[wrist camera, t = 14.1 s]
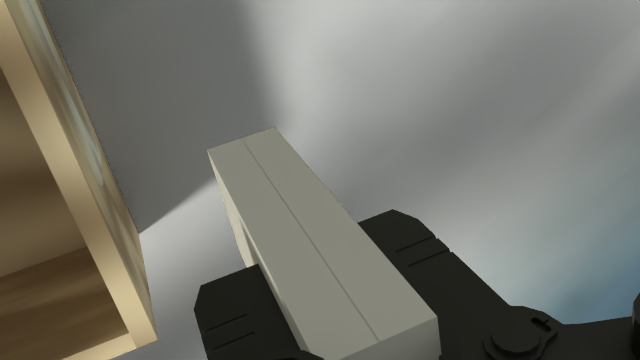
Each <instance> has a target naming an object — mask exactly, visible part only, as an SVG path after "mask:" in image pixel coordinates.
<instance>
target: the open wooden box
mask: <svg viewBox="0 0 640 360" xmlns="http://www.w3.org/2000/svg"><path fill="white" fill-rule="evenodd" d="M156 340H158V337H157V332H156V326H155V321H154V315H153V310H152V304H151V299H150V294H149V288H148V283H147V277H146V272H145V266H144V261H143V255H142V250H141V244H140V239H139V234H138V232H137V230H136V227H135V225H134V223H133V220H132V218H131V215H130V213H129V211H128V208H127V206H126V204H125V201H124V199H123V197H122V194H121V192H120V189H119V187H118V185H117V182H116V180H115V178H114V175H113V173H112V171H111V168H110V166H109V163H108V161H107V159H106V156H105V154H104V152H103V149H102V147H101V145H100V142H99V140H98V137H97V135H96V133H95V130H94V128H93V126H92V123H91V121H90V119H89V116H88V114H87V112H86V109H85V107H84V104H83V102H82V100H81V97H80V95H79V93H78V90H77V88H76V86H75V83H74V81H73V78H72V76H71V74H70V71H69V69H68V67H67V64H66V62H65V60H64V57H63V55H62V52H61V50H60V48H59V45H58V43H57V41H56V38H55V36H54V34H53V31H52V29H51V26H50V24H49V22H48V19H47V17H46V15H45V12H44V10H43V8H42V5H41V3H40V0H0V360H109V359H112V358H114V357H117V356H119V355H122V354H124V353H127V352H129V351H132V350H134V349H137V348H139V347H142V346H144V345H147V344H149V343H151V342H154V341H156Z"/></svg>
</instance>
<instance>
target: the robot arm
mask: <svg viewBox="0 0 640 360" xmlns="http://www.w3.org/2000/svg"><path fill="white" fill-rule="evenodd" d="M207 152H208V155H209V158H210V161H211V164H212V167H213V171H214V174H215V177H216V180H217V183H218V186H219V189H220V192H221V195H222V198H223V201H224V205H225V208H226V211H227V214H228V217H229V220H230V223H231V226H232V229H233V232H234V235H235V238H236V242H237V245H238V248H239V251H240V254H241V256H242V258H243V260H244V263H245V265H246V267H247V268H245V269H242V270H240V271H237V272H235V273H232V274H229V275H227V276H224V277H222V278H219V279H216V280H214V281H211V282H209V283H206V284H203V285H201V286H200V290H199V293H198V297H197V300H196V304H195V307H194V312H195V316H196V319H197V323H198V326H199V330H200V333H201V336H202V341H203V344H204V348H205V351H206V354H207V358H208V360H640V293H639V294H638V296H637V298H636V299H635V301H634V302H633V311H632V316H630V317H623V318H617V319H610V320H603V321H597V322H590V323H583V324H567V325H565V324H562V323H560V322H559V321H557V320H556V319H554V318H552V317H551V316H549V315H548V314H546V313H544V312H542V311H538V310H535V309H531V308H528V307H524V306H510V305H509V304H507V303H506V302H505V301H504V300H503V299H502V298H501V297H500V296H499V295H498V294H497V293H496V292H495V291H493V290H492V289H491V288H490V287H489V286H488V285H487V284H486V283H485V282H484V281H483V280H482V279H481V278H480V277H479V276H478V275H477V274H475V273H474V272H473V271H472V270H471V269H470V268H469V267H468V266H467V265H466V264H465V263H464V262H463V261H462V260H461V259H460V258H459V257H457V256H456V255H455V254H454V253H453V252H450V250H449V248H448V247H447V246H446V245H445V244H444V243H443V242H442V241H441V240H439V239H436V237H435V235H434V234H433V233H432V232H431V231H430V230H429V229H428V228H427V227H426V226H425V225H424V224H423V223H421V222H420V221H419V220H418V219H416V218H414V217H411V216H409V215H406V214H404V213H401V212H399V211H396V210H393V209H392V210H390V211H387V212H384V213H382V214H379V215H377V216H374V217H371V218H369V219H366V220H364V221H361V222H358V223H357V222H356V221H355V220H354V219H353V218H352V217H351V215H350V214H349V213H348V212H347V211H346V210H345V208H344V207H343V206H342V205H341V204H340V203H339V201H338V200H337V199H336V198H335V197H334V196H333V194H332V193H331V192H330V191H329V190H328V189H327V188H326V186H325V185H324V184H323V183H322V182H321V181H320V179H319V178H318V177H317V176H316V175H315V174H314V172H313V171H312V170H311V169H310V168H309V167H308V165H307V164H306V163H305V162H304V161H303V160H302V158H301V157H300V156H299V155H298V154H297V153H296V151H295V150H294V149H293V148H292V147H291V146H290V144H289V143H288V142H287V141H286V140H285V139H284V137H283V136H282V135H281V134H280V133H279V132H278V130H277V129H276V128H275V127H273V128H270V129H267V130H264V131H261V132H258V133H255V134H252V135H249V136H246V137H243V138H240V139H237V140H234V141H231V142H228V143H225V144H222V145H219V146H216V147H213V148H210V149H207Z"/></svg>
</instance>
